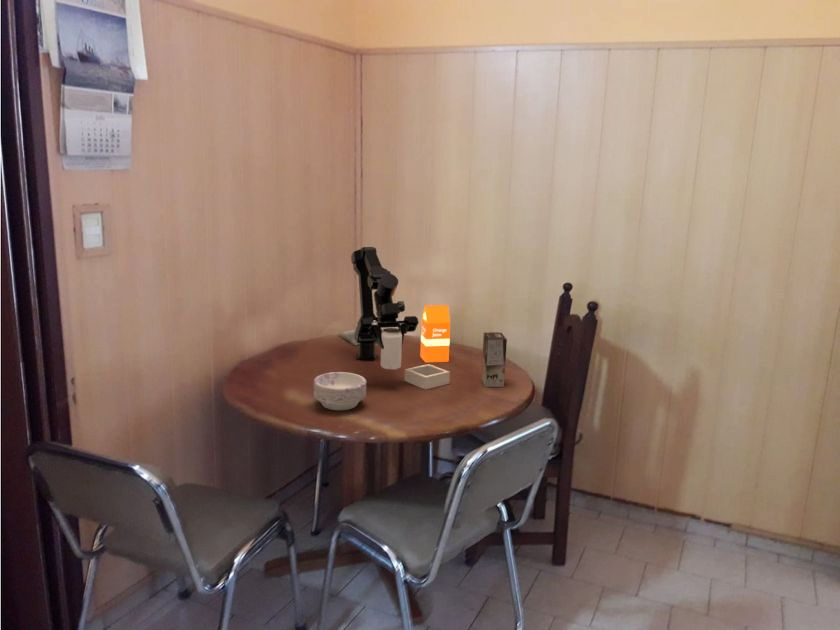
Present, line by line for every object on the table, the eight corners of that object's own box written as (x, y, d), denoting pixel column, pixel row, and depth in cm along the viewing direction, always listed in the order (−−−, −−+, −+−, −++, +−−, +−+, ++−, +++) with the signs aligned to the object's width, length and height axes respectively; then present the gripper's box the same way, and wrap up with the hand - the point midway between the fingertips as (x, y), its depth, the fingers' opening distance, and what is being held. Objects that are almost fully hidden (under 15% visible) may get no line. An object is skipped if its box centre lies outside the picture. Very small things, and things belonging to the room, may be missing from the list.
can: (398, 371, 213) (399, 333, 210) (378, 369, 214) (379, 331, 211) (402, 365, 219) (404, 328, 216) (383, 363, 220) (384, 326, 217)
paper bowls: (358, 417, 192) (359, 390, 191) (306, 412, 195) (306, 385, 193) (371, 398, 207) (371, 373, 205) (322, 394, 209) (322, 369, 208)
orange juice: (448, 361, 248) (451, 307, 243) (425, 362, 245) (427, 308, 241) (442, 355, 255) (445, 302, 250) (419, 356, 253) (421, 303, 248)
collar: (404, 380, 225) (404, 369, 224) (428, 375, 231) (428, 363, 230) (425, 389, 217) (425, 377, 216) (449, 383, 224) (449, 371, 223)
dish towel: (355, 348, 262) (356, 340, 261) (338, 337, 277) (338, 329, 276) (399, 344, 270) (399, 336, 270) (379, 333, 286) (380, 325, 285)
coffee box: (504, 387, 222) (507, 339, 218) (484, 387, 221) (487, 339, 218) (498, 378, 231) (501, 332, 227) (480, 378, 230) (482, 331, 227)
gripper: (360, 292, 212) (367, 336, 204) (418, 291, 217) (427, 334, 210) (354, 311, 221) (361, 354, 214) (410, 309, 227) (418, 351, 219)
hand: (392, 348), depth 214 cm, fingers closed on can, 5 cm apart
